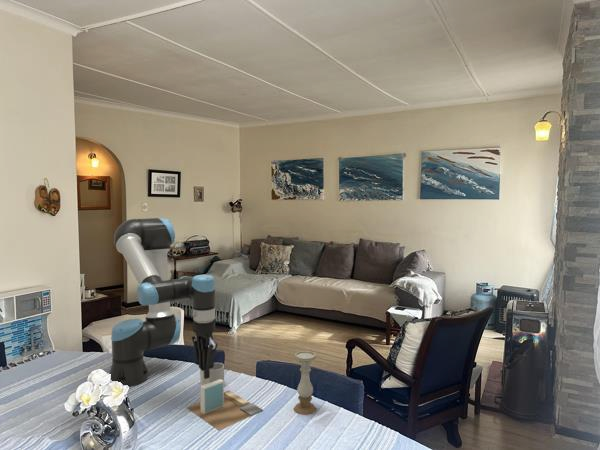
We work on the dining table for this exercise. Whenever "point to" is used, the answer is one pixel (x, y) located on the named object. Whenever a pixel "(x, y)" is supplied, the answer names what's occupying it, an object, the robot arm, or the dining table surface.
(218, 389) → the tile
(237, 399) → the turner
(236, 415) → the board
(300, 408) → the candle holder
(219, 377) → the cup
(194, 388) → the dining table surface
